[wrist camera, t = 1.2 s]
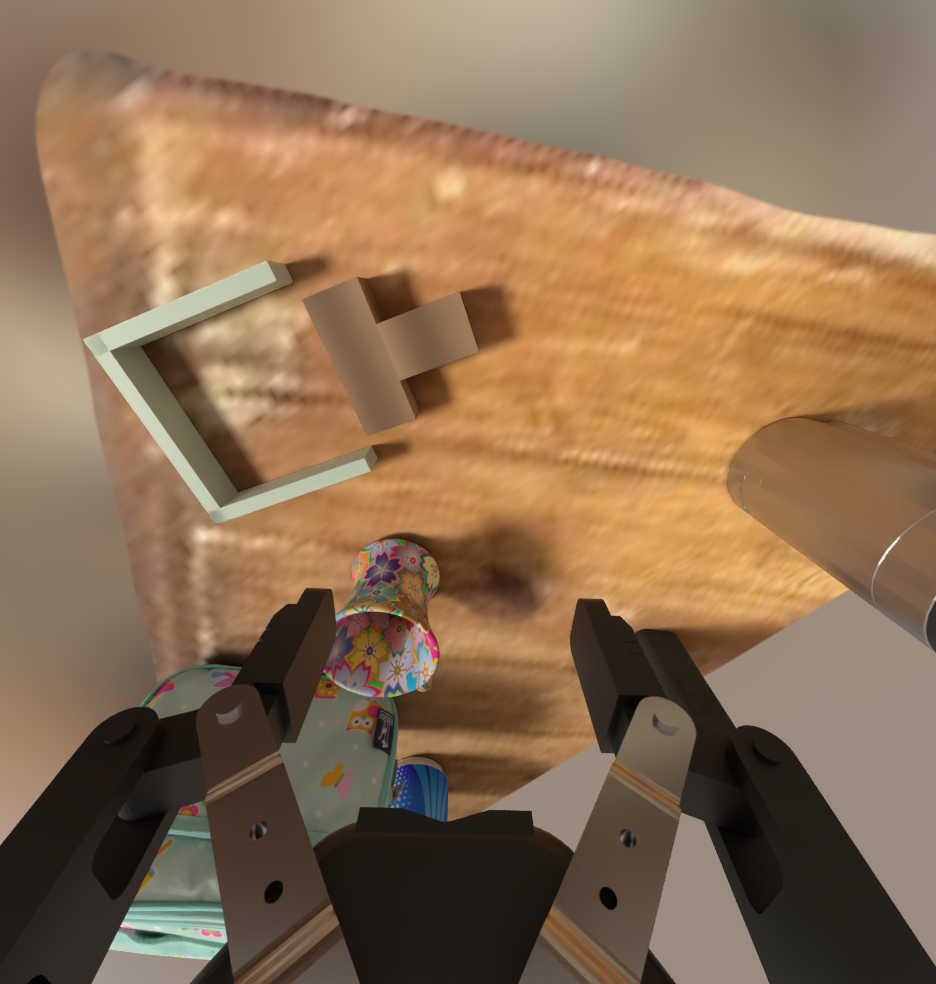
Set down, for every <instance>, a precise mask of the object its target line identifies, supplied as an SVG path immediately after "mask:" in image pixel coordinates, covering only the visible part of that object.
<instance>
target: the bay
mask: <svg viewBox="0 0 936 984" xmlns="http://www.w3.org/2000/svg"><path fill="white" fill-rule="evenodd" d="M291 283H293V280H292V278H291V276H290V273H289V271H288V269H287V267H286V265H285V264H282V263H277V262H272V261H264V262H262V263H260V264H257V265H255V266H253V267H250V268H248V269H246V270H243V271H241V272H239V273H236V274H234V275H232V276H229V277H227V278H225V279H222V280H220V281H218V282H215V283H213V284H211V285H208V286H206V287H204V288H201V289H199V290H197V291H194V292H192V293H190V294H187V295H185V296H183V297H180V298H178V299H176V300H174V301H171V302H169V303H167V304H164V305H162V306H160V307H157V308H155V309H153V310H150V311H148V312H146V313H143V314H141V315H139V316H136V317H134V318H132V319H129V320H127V321H125V322H122V323H120V324H118V325H115V326H113V327H111V328H108V329H106V330H104V331H101V332H99V333H97V334H94V335H92V336H90V337H87V338H85V339H83V341H84V342H85V343H86V345H87V346H88V348H89V349H90V350H91V352H92V353H93V355H94V356H95V357H96V359H97V360H98V361H99V363H100V364H101V366H102V367H103V368H104V370H105V371H106V373H107V374H108V375H109V377H110V378H111V379H112V381H113V382H114V384H115V385H116V386H117V388H118V389H119V391H120V392H121V393H122V395H123V396H124V397H125V399H126V400H127V402H128V403H129V404H130V406H131V407H132V409H133V410H134V411H135V413H136V414H137V415H138V417H139V418H140V420H141V421H142V422H143V424H144V425H145V427H146V428H147V429H148V431H149V432H150V433H151V435H152V436H153V438H154V439H155V440H156V442H157V443H158V445H159V446H160V447H161V449H162V450H163V451H164V453H165V454H166V456H167V457H168V458H169V460H170V461H171V463H172V464H173V465H174V467H175V468H176V470H177V471H178V472H179V474H180V475H181V476H182V478H183V479H184V481H185V482H186V483H187V485H188V486H189V488H190V489H191V490H192V492H193V493H194V494H195V496H196V497H197V499H198V500H199V501H200V503H201V504H202V506H203V507H204V508H205V510H206V511H207V512H208V514H209V515H210V517H211V518H212V519H213V521H214V522H215V524H218V523H221V522H224V521H227V520H230V519H233V518H236V517H239V516H242V515H245V514H248V513H250V512H253V511H256V510H259V509H262V508H265V507H268V506H271V505H274V504H277V503H280V502H283V501H286V500H289V499H291V498H294V497H297V496H300V495H303V494H306V493H309V492H312V491H315V490H318V489H321V488H324V487H327V486H329V485H332V484H335V483H338V482H341V481H344V480H347V479H350V478H353V477H356V476H359V475H362V474H365V473H368V472H370V471H371V470H372V468H373V466H374V464H375V462H376V460H377V458H378V457H377V455H376V453H375V451H374V449H373V447H372V445H371V446H369V447H366V448H363V449H360V450H357V451H354V452H352V453H349V454H346V455H343V456H340V457H337V458H334V459H332V460H329V461H326V462H323V463H320V464H317V465H314V466H312V467H309V468H306V469H303V470H300V471H297V472H294V473H292V474H289V475H286V476H283V477H280V478H277V479H274V480H272V481H269V482H266V483H263V484H260V485H257V486H255V487H252V488H249V489H246V490H243V491H240V492H238V491H237V490H236V488H235V487H234V485H233V484H232V482H231V481H230V479H229V478H228V476H227V475H226V473H225V472H224V470H223V469H222V467H221V466H220V464H219V463H218V461H217V460H216V458H215V457H214V455H213V454H212V452H211V451H210V449H209V448H208V446H207V445H206V443H205V442H204V440H203V439H202V437H201V436H200V434H199V433H198V431H197V430H196V428H195V427H194V425H193V424H192V422H191V421H190V419H189V418H188V416H187V415H186V413H185V412H184V410H183V409H182V407H181V406H180V404H179V403H178V401H177V400H176V398H175V397H174V395H173V394H172V392H171V391H170V389H169V388H168V386H167V385H166V383H165V382H164V380H163V379H162V377H161V376H160V374H159V373H158V371H157V370H156V368H155V367H154V365H153V364H152V362H151V361H150V359H149V358H148V356H147V355H146V353H145V352H144V350H143V349H142V347H141V346H143V345H145V344H147V343H150V342H152V341H154V340H157V339H159V338H162V337H164V336H166V335H169V334H171V333H174V332H176V331H178V330H181V329H183V328H186V327H188V326H190V325H193V324H195V323H198V322H200V321H202V320H205V319H207V318H210V317H212V316H214V315H217V314H219V313H221V312H224V311H226V310H229V309H231V308H233V307H236V306H238V305H241V304H243V303H245V302H248V301H250V300H253V299H255V298H257V297H260V296H262V295H265V294H267V293H269V292H272V291H274V290H277V289H279V288H281V287H284V286H286V285H289V284H291Z"/></svg>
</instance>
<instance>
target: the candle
mask: <svg viewBox="0 0 936 984" xmlns="http://www.w3.org/2000/svg"><path fill="white" fill-rule="evenodd" d="M635 635H636V637H637V639H638V641H639V644H640V645H641V647H642V649H643V651H644V653H645V656H646V657H647V659H648V661H649V663H650V665H651V667H652V669H653V671H654V673H655V675H656V677H657V679H658V681H659V683H660V685H661V687H662V688H663V690H664V692H665V694H666V696H667V698H668V700H670V701H672V702H674V703H675V704H677V705H678V706H680V707H681V708H682V709H683V710H684V711H685V712H686V713H687V714H688V715H689V716H690V718H691V719H692V721H693V723H695V724H697V725H700V726H703V727H705V728H708V729H712V730H715V731H718V732H721V733H724V734H727V735H730V736H732V734H733V733H734V731H735V730H736V727H735V726H734V724H733V722H732V721H731V719H730V718H729V716H728V715H727V713H726V712H725V710H724V709H723V707H722V706H721V704H720V702H719V701H718V699H717V698H716V696H715V695H714V693H713V692H712V690H711V688H710V687H709V685H708V684H707V682H706V681H705V679H704V678H703V676H702V674H701V673H700V671H699V670H698V668H697V667H696V665H695V664H694V662H693V660H692V659H691V657H690V656H689V654H688V653H687V651H686V650H685V648H684V647H683V645H682V643H681V642H680V640H679V639H678V637H677V636H676V635H675V634H674V633H671V632H663V631H655V630H640V631H638V632H636V633H635Z"/></svg>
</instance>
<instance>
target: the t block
mask: <svg viewBox="0 0 936 984" xmlns="http://www.w3.org/2000/svg"><path fill="white" fill-rule="evenodd" d="M302 301H303V303H304V305H305V307H306V309H307V311H308V313H309V315H310V317H311V319H312V321H313V324H314V326H315V328H316V330H317V332H318V334H319V336H320V338H321V340H322V342H323V344H324V347H325V349H326V351H327V353H328V355H329V357H330V359H331V361H332V363H333V365H334V367H335V370H336V372H337V374H338V376H339V378H340V380H341V382H342V384H343V386H344V388H345V390H346V392H347V395H348V397H349V399H350V401H351V403H352V405H353V407H354V409H355V411H356V413H357V415H358V418H359V420H360V422H361V424H362V426H363V428H364V430H365V432H366V434H367V436H369V435H372V434H375V433H378V432H381V431H384V430H386V429H389V428H392V427H395V426H398V425H401V424H404V423H406V422H409V421H412V420H415V419H416V417H417V415H418V413H419V410H420V408H419V406H418V403H417V401H416V398H415V396H414V393H413V391H412V389H411V386H410V384H409V381H408V379H407V378H409V377H411V376H414V375H417V374H420V373H422V372H425V371H428V370H430V369H433V368H436V367H439V366H441V365H444V364H447V363H450V362H452V361H455V360H458V359H460V358H463V357H466V356H469V355H471V354H474V353H477V352H479V351H478V346H477V343H476V340H475V337H474V334H473V331H472V328H471V325H470V322H469V318H468V315H467V312H466V309H465V306H464V303H463V300H462V297H461V294H460V292H457V293H454V294H452V295H449V296H447V297H444V298H441V299H439V300H436V301H434V302H431V303H429V304H426V305H424V306H421V307H419V308H416V309H413V310H411V311H408V312H406V313H403V314H401V315H398V316H396V317H393V318H390V319H388V320H385V321H384V320H383V317H382V315H381V312H380V310H379V307H378V305H377V302H376V300H375V298H374V295H373V293H372V290H371V288H370V285H369V283H368V280H367V279H366V278H360V277H355V278H353V279H350V280H348V281H345V282H343V283H341V284H338V285H336V286H333V287H331V288H328V289H326V290H324V291H321V292H319V293H316V294H314V295H312V296H309V297H307V298H304V299H302Z"/></svg>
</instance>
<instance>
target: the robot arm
mask: <svg viewBox="0 0 936 984" xmlns="http://www.w3.org/2000/svg"><path fill="white" fill-rule="evenodd" d="M727 486H728V491H729V494H730V496H731V498H732V500H733V501H734V502H735V503H736V504H737V505H738V506H739V507H740V508H741V509H743V510H744V511H745V512H747V513H748V514H749V515H751V516H752V517H753V518H755V519H756V520H757V521H759V522H760V523H761V524H763V525H764V526H765V527H767V528H768V529H769V530H771V531H772V532H773V533H775V534H776V535H777V536H779V537H780V538H781V539H783V540H784V541H785V542H787V543H788V544H789V545H791V546H792V547H793V548H795V549H796V550H797V551H799V552H800V553H802V554H803V555H804V556H806V557H807V558H808V559H810V560H811V561H812V562H814V563H815V564H816V565H818V566H819V567H820V568H822V569H823V570H824V571H826V572H827V573H828V574H830V575H831V576H833V577H834V578H835V579H837V580H838V581H839V582H841V583H842V584H843V585H845V586H846V587H847V588H849V589H850V590H852V591H853V592H854V593H855V594H857V595H858V596H860V597H861V598H862V599H864V600H865V601H866V602H868V603H869V604H870V605H872V606H873V607H875V608H876V609H877V610H879V611H880V612H881V613H882V614H884V615H885V616H886V617H888V618H889V619H891V620H892V621H893V622H895V623H896V624H897V625H899V626H900V627H902V628H903V629H904V630H906V631H907V632H908V633H910V634H911V635H912V636H914V637H915V638H916V639H918V640H919V641H920V642H922V643H923V644H924V645H926V646H927V647H928V648H930V649H931V650H933V651H934V652H935V653H936V452H933V451H930V450H927V449H924V448H921V447H918V446H914V445H911V444H908V443H905V442H902V441H899V440H896V439H893V438H890V437H887V436H883V435H880V434H877V433H874V432H871V431H868V430H865V429H862V428H859V427H856V426H852V425H849V424H846V423H843V422H840V421H837V420H833V421H830V422H825V423H822V422H818V421H816V420H813V419H810V418H799V417H798V418H789V419H784V420H781V421H778V422H775V423H773V424H771V425H769V426H767V427H765V428H763V429H761V430H760V431H758V432H757V433H756V434H754V435H753V436H752V437H751V438H750V439H748V440H747V441H746V442H745V443H744V444H743V446H742V447H741V448H740V450H739V451H738V452H737V454H736V455H735V457H734V459H733V461H732V463H731V465H730V469H729V472H728V479H727ZM336 629H337V626H336V617H335V609H334V601H333V593H332V590H331V589H321V588H306V589H305V590H304V592H303V594H302V596H301V597H300V599H299V601H298V603H297V604H287V605H286V606H284V607H283V608H282V609H281V610H280V611H278V612H277V613H276V614H275V615H274V616H273V617H272V619H271V621H270V622H269V624H268V626H267V627H266V631H264V632H263V634H262V635H261V637H260V639H259V642H257V644H256V645H255V647H254V649H253V650H252V652H251V653H250V655H249V657H248V658H247V660H246V662H245V663H244V665H243V667H242V668H241V670H240V671H239V673H238V675H237V676H236V678H235V680H234V681H233V683H232V684H231V686H229V687H226V688H223V689H221V690H220V691H218V692H216V693H215V694H213V695H212V696H211V697H209V698H208V699H207V700H206V701H205V702H204V703H203V705H202V706H201V707H200V708H199V709H196V710H193V711H189V712H185V713H181V714H177V715H173V716H169V717H165V718H161V719H159V717H158V715H157V713H156V712H155V711H154V710H153V709H151V708H149V707H134V708H130V709H127V710H124V711H121V712H119V713H117V714H115V715H113V716H111V717H109V718H108V719H106V720H105V721H103V722H102V723H101V724H100V725H98V726H97V727H96V728H95V729H94V730H93V731H92V732H91V733H90V735H89V736H88V737H87V738H86V739H85V741H84V742H83V743H82V744H81V746H80V747H79V748H78V750H77V751H76V752H75V753H74V754H73V756H72V757H71V758H70V759H69V760H68V762H67V763H66V764H65V765H64V767H63V768H62V769H61V770H60V772H59V773H58V774H57V775H56V777H55V778H54V779H53V781H52V782H51V783H50V784H49V785H48V787H47V788H46V789H45V791H44V792H43V793H42V794H41V796H40V797H39V798H38V799H37V801H36V802H35V803H34V804H33V806H32V807H31V808H30V809H29V810H28V812H27V813H26V814H25V815H24V817H23V818H22V819H21V820H20V822H19V823H18V824H17V825H16V827H15V828H14V829H13V830H12V832H11V833H10V834H9V835H8V837H7V838H6V839H5V840H4V841H3V843H2V844H1V845H0V984H91V983H92V981H93V979H94V977H95V975H96V973H97V971H98V970H99V968H100V966H101V964H102V962H103V960H104V958H105V956H106V954H107V952H108V950H109V948H110V946H111V944H112V942H113V940H114V938H115V936H116V934H117V932H118V930H119V928H120V926H121V924H122V922H123V920H124V918H125V916H126V914H127V912H128V911H129V909H130V907H131V905H132V903H133V901H134V899H135V897H136V895H137V893H138V891H139V889H140V887H141V885H142V883H143V881H144V879H145V877H146V875H147V873H148V871H149V869H150V867H151V865H152V863H153V861H154V859H155V857H156V855H157V853H158V851H159V849H160V847H161V846H162V844H163V842H164V840H165V838H166V836H167V834H168V832H169V830H170V828H171V826H172V824H173V822H174V820H175V818H176V816H177V814H178V812H179V810H180V808H182V807H185V806H188V805H192V804H195V803H198V802H201V801H204V800H205V804H206V811H207V817H208V824H209V830H210V836H211V842H212V848H213V855H214V861H215V867H216V873H217V879H218V886H219V892H220V898H221V904H222V910H223V916H224V923H225V929H226V935H227V942H226V944H225V945H224V946H223V947H222V948H221V949H220V950H219V951H218V953H217V954H216V955H215V956H214V957H213V958H212V959H211V960H210V962H209V963H208V964H207V965H206V966H205V967H204V968H203V969H202V971H201V972H200V973H199V974H198V975H197V976H196V977H195V979H194V980H193V981H192V982H191V983H190V984H676V983H675V982H674V980H673V979H672V978H671V977H670V975H669V974H668V973H667V971H666V970H665V969H664V967H663V966H662V965H661V963H660V962H659V961H658V960H657V958H656V957H655V956H654V954H653V953H652V952H651V950H650V949H649V944H650V940H651V936H652V932H653V927H654V924H655V919H656V915H657V911H658V907H659V903H660V899H661V894H662V890H663V886H664V882H665V878H666V873H667V869H668V865H669V861H670V857H671V852H672V849H673V844H674V840H675V836H676V832H677V828H678V824H679V819H680V815H681V812H682V813H684V814H687V815H689V816H692V817H695V818H698V819H700V820H703V821H704V822H705V825H706V827H707V830H708V832H709V835H710V837H711V839H712V842H713V845H714V847H715V849H716V852H717V854H718V857H719V859H720V862H721V864H722V867H723V869H724V872H725V874H726V877H727V879H728V882H729V884H730V887H731V889H732V892H733V894H734V897H735V899H736V902H737V904H738V907H739V909H740V911H741V914H742V916H743V919H744V921H745V924H746V926H747V929H748V931H749V934H750V936H751V939H752V941H753V944H754V946H755V948H756V951H757V954H758V956H759V959H760V961H761V963H762V966H763V968H764V971H765V973H766V976H767V978H768V981H769V983H770V984H936V966H935V965H934V963H933V962H932V960H931V959H930V957H929V956H928V954H927V953H926V951H925V950H924V948H923V947H922V945H921V944H920V942H919V941H918V939H917V938H916V936H915V935H914V933H913V932H912V930H911V929H910V927H909V926H908V924H907V923H906V921H905V920H904V918H903V917H902V915H901V913H900V912H899V910H898V909H897V908H896V906H895V904H894V903H893V902H892V900H891V898H890V897H889V896H888V894H887V893H886V891H885V889H884V888H883V887H882V885H881V883H880V882H879V880H878V879H877V877H876V876H875V874H874V873H873V872H872V870H871V868H870V867H869V865H868V864H867V862H866V861H865V859H864V858H863V856H862V855H861V853H860V852H859V850H858V849H857V847H856V846H855V844H854V843H853V841H852V840H851V838H850V837H849V835H848V834H847V832H846V831H845V829H844V828H843V826H842V825H841V823H840V821H839V820H838V819H837V817H836V815H835V814H834V812H833V811H832V809H831V808H830V806H829V805H828V803H827V802H826V800H825V799H824V797H823V796H822V794H821V793H820V792H819V790H818V788H817V787H816V785H815V784H814V782H813V781H812V779H811V778H810V776H809V775H808V773H807V772H806V770H805V769H804V767H803V766H802V764H801V763H800V761H799V760H798V758H797V757H796V755H795V754H794V753H793V751H792V750H791V749H790V748H789V747H788V746H787V745H786V744H785V743H784V742H783V741H782V740H780V739H779V738H778V737H777V736H775V735H773V734H772V733H770V732H768V731H766V730H764V729H762V728H759V727H755V726H750V725H746V726H745V725H744V726H740V727H738V728H737V729H736V730H735V731H734V733H733V734H732V736H730V735H727V734H724V733H721V732H718V731H715V730H712V729H708V728H705V727H703V726H700V725H697V724H695V723H693V721H692V719H691V718H690V716H689V715H688V714H687V713H686V712H685V711H684V710H683V709H682V708H681V707H680V706H678V705H677V704H675V703H674V702H672V701H670V700H668V698H667V696H666V694H665V692H664V690H663V688H662V687H661V685H660V683H659V681H658V679H657V677H656V675H655V673H654V671H653V669H652V667H651V665H650V663H649V661H648V659H647V657H646V656H645V653H644V651H643V649H642V647H641V645H640V644H639V641H638V639H637V637H636V635H635V633H634V631H633V629H632V627H630V626H629V625H628V624H627V623H626V622H625V621H624V620H623V619H622V618H621V617H620V616H611V615H610V612H609V610H608V608H607V606H606V604H605V602H604V600H602V599H583V598H580V599H578V601H577V605H576V610H575V615H574V619H573V624H572V629H571V634H570V646H571V653H572V656H573V660H574V663H575V666H576V670H577V673H578V676H579V680H580V683H581V687H582V690H583V693H584V697H585V700H586V703H587V707H588V710H589V714H590V717H591V720H592V724H593V727H594V731H595V734H596V737H597V741H598V744H599V747H600V751H601V753H614V754H615V757H616V759H615V761H614V763H612V766H611V768H610V770H609V772H608V774H607V777H606V779H605V782H604V784H603V786H602V789H601V791H600V793H599V796H598V798H597V801H596V803H595V805H594V808H593V810H592V812H591V815H590V817H589V820H588V822H587V824H586V827H585V829H584V831H583V834H582V836H581V839H580V841H579V843H578V846H577V848H576V851H575V853H574V852H573V851H572V850H571V849H570V848H569V847H568V846H566V845H565V844H564V843H563V842H562V841H561V840H559V839H558V838H556V837H555V836H553V835H552V834H550V833H548V832H546V831H544V830H542V829H540V828H537V827H535V826H533V820H532V812H531V811H510V810H508V811H507V810H488V811H485V812H481V813H477V814H474V815H470V816H467V817H463V818H460V819H456V820H453V821H449V822H443V821H439V820H436V819H433V818H430V817H427V816H425V815H422V814H419V813H416V812H413V811H410V810H407V809H404V808H384V807H360V809H359V813H358V818H357V822H355V823H352V824H349V825H347V826H344V827H342V828H340V829H338V830H336V831H334V832H333V833H331V834H329V835H327V836H326V837H325V838H323V839H322V840H321V841H319V842H318V843H317V844H316V845H315V846H313V847H312V845H311V842H310V839H309V836H308V833H307V830H306V827H305V824H304V821H303V818H302V815H301V812H300V809H299V806H298V803H297V800H296V797H295V794H294V791H293V788H292V785H291V783H290V780H289V777H288V774H287V771H286V768H285V765H284V762H283V759H282V756H281V754H279V749H280V747H281V745H282V743H296V741H297V739H298V736H299V734H300V731H301V728H302V726H303V723H304V721H305V718H306V716H307V713H308V710H309V708H310V705H311V703H312V700H313V697H314V695H315V692H316V690H317V687H318V684H319V682H320V679H321V677H322V674H323V671H324V669H325V666H326V664H327V661H328V658H329V656H330V653H331V651H332V648H333V645H334V642H335V638H336Z"/></svg>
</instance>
